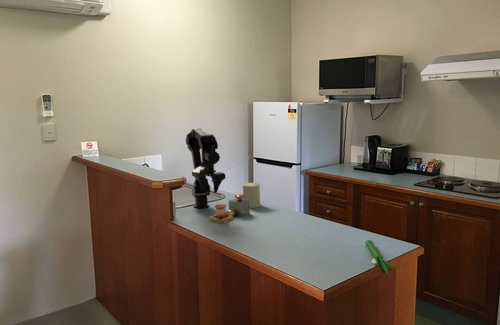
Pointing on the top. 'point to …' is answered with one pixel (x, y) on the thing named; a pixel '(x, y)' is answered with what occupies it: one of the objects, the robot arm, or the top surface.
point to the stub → (220, 211)
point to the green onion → (377, 256)
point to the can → (252, 194)
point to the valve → (238, 206)
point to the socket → (214, 219)
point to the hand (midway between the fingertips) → (209, 191)
